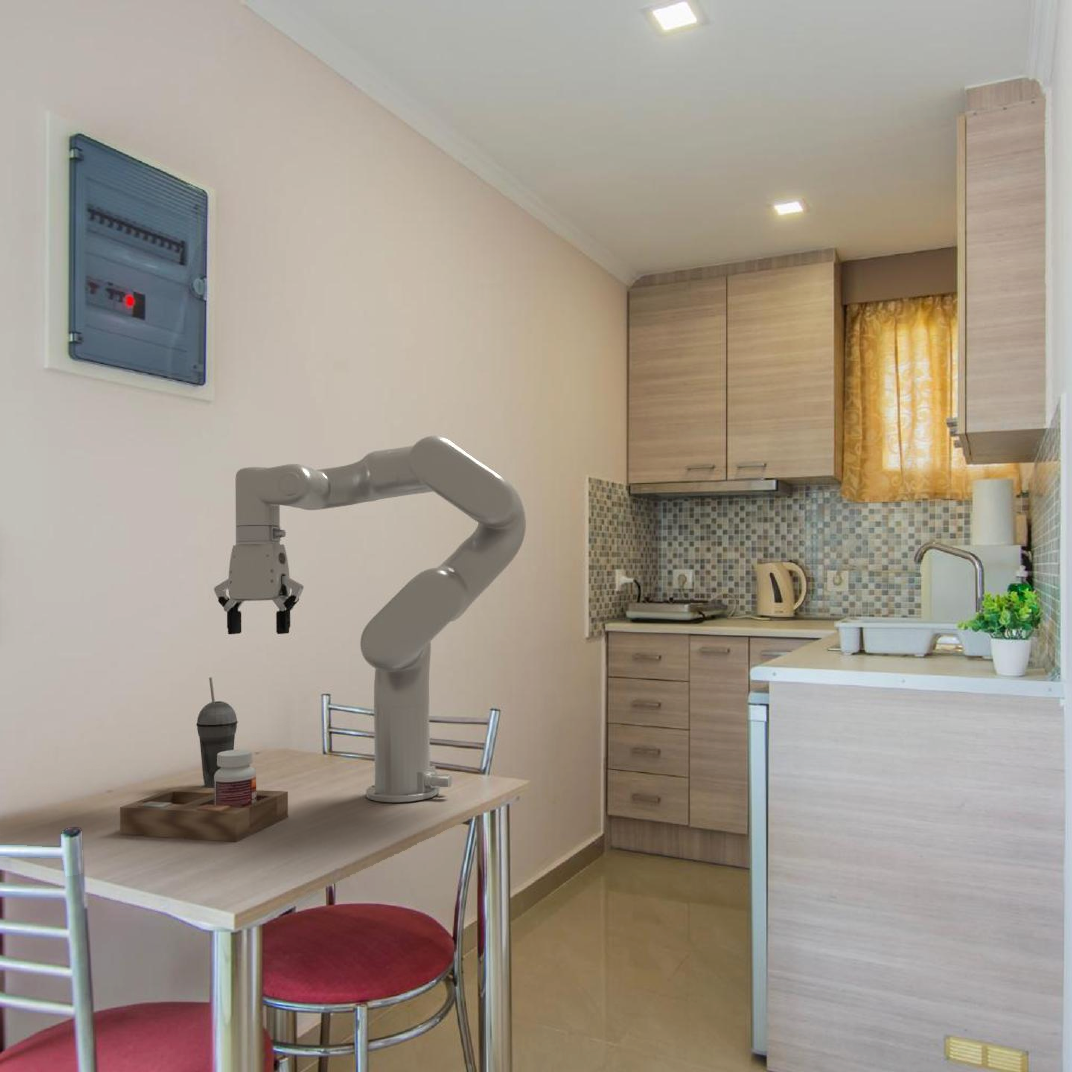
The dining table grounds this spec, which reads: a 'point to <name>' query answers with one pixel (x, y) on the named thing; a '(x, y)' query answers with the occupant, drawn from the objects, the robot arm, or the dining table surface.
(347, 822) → the dining table surface
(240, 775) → the pill bottle
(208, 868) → the dining table surface
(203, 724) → the beverage cup
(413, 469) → the robot arm
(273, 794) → the socket board
